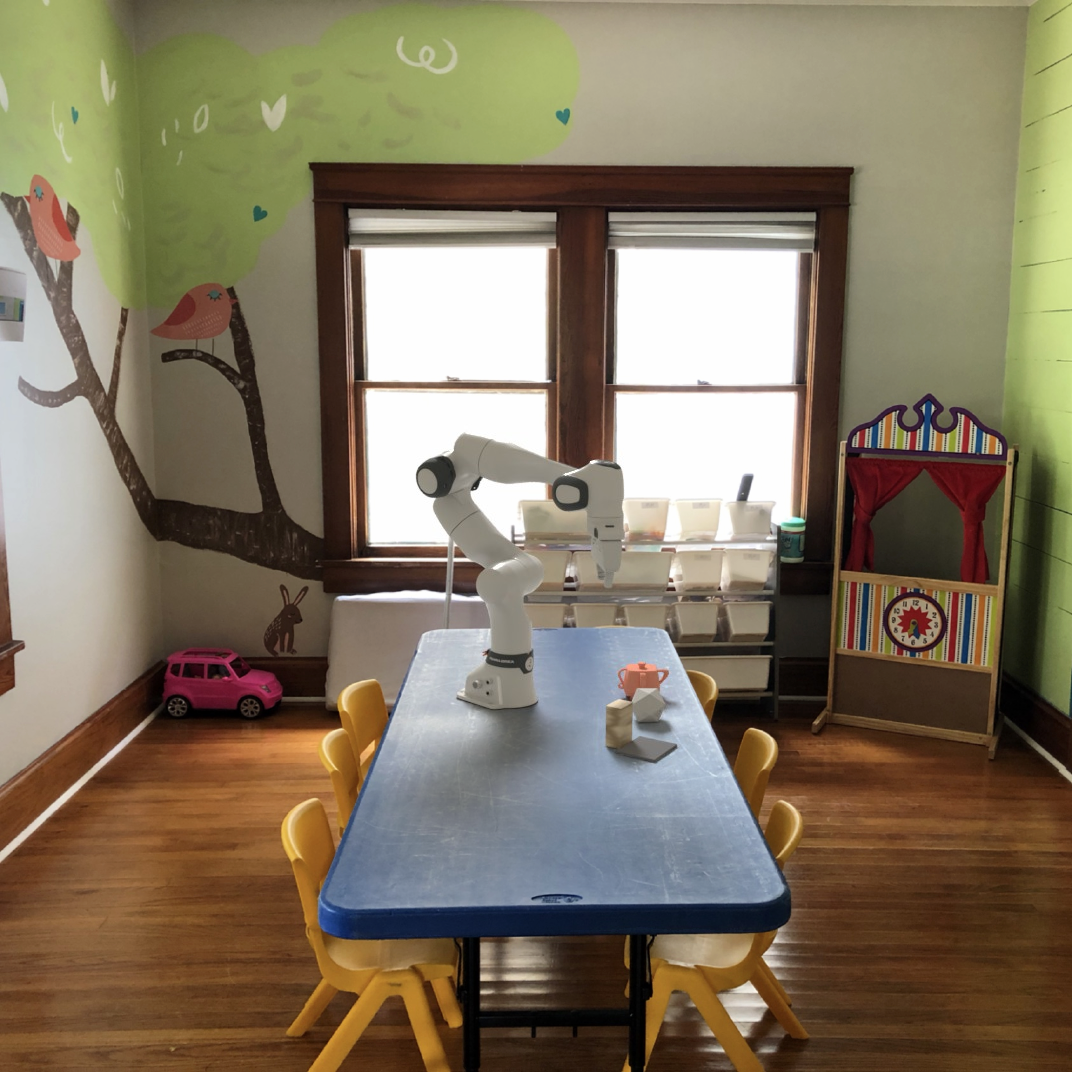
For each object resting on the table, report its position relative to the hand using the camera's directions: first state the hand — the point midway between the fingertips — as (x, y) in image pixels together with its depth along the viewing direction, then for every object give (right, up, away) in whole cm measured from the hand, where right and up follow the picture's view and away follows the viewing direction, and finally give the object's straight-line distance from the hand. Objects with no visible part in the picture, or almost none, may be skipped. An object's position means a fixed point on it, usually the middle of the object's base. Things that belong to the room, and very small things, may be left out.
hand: (604, 583), depth 256 cm
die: (+12, -36, +13) cm, 40 cm away
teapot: (+13, -33, +32) cm, 48 cm away
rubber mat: (+9, -39, -8) cm, 41 cm away
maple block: (+3, -38, -4) cm, 39 cm away
